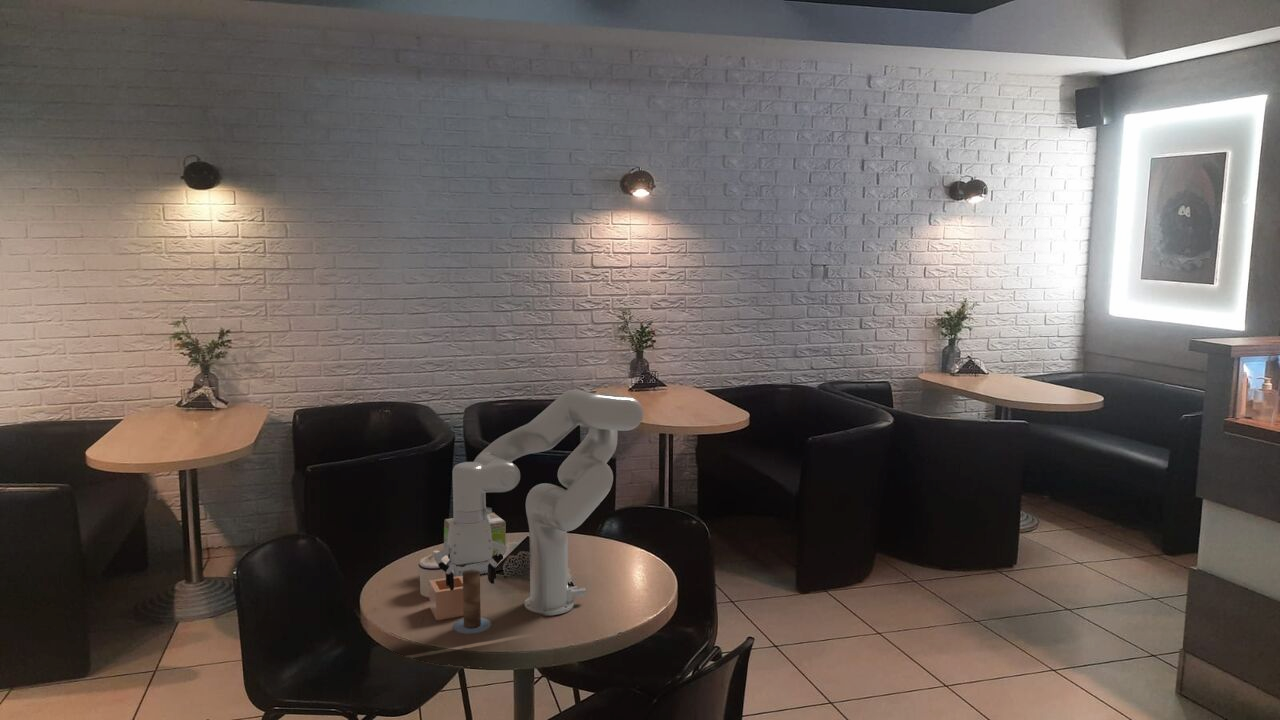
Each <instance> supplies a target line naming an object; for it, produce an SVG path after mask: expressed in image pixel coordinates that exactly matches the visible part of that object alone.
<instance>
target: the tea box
mask: <svg viewBox="0 0 1280 720" xmlns="http://www.w3.org/2000/svg"><path fill="white" fill-rule="evenodd" d="M487 518H488V519H489V523H490V528H491V535H492V541H494V542H497V543H500V544H503V545H505V546H506V535H507V534H506V533H507V532H506V530H507V529H506V526H507V525H506V521H505V520H504V519H502V518H501V517H500V516H499V515H497V514H496V513H495V512H492V513H490V514H487ZM451 520H454V517H453V518H452V517H451V518H445V519H444V520H443V521H444V522H443V525H444V526H443V549H444V548H446V547H447V546H448V532H449V525H450V521H451ZM498 551H499V549H496V548H493V557H492V558H494V557H495V556H496V554H497V553H498ZM505 553H506V552H505ZM447 556H448V555H447ZM488 564H489V562H488V561H484V562H477V563H470V564H463V565H456V567H455V568H454V569H453V574H454V577H456V576H463V572H464V571H467V570H478V571H479V572H480V575H484V573H485V574H488Z"/></svg>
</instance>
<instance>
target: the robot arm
mask: <svg viewBox="0 0 1280 720" xmlns="http://www.w3.org/2000/svg"><path fill="white" fill-rule="evenodd" d="M643 417H644V409H643V406H642V404H641V403H640V402H639V401H638V400H637V399H636V398H633V397H630V396H626V395H625V396H624V395H621V394H617V393H613V392H612V393H611V392H601V393H598V394H596V393H593V392H588V391H584V390H579V389H569V390H567V391H565V392H563V393H562V394H560V396H558V397H557V398H556V399H555V400H554V401H553V402H552V403H550V404H549V405H548V406H547V407H546V408H545V409H544V410H542V412H540V413H539V414H538V415H537V416H536V417H534V418H533V419H532V420H531V421H529V422H528V423H526V424H524V425H522V426H519V427H517V428H515V429H513V430H511V431H509V432H507V433H505V434H503V435H501V436H499V437H498V438H497V439H494V441H492V442H491V443H490V444H488V446H486V447H485V448H484V449H483V450H482V451H481V452H480V453H478V454H477V456H476V457H475V459H474V460H473V461H464V462H460V463H458V464H457V463H456V464H455V465H454V467H453V468H452V474H451V475H452V502H453V503H452V507H453V508H452V510H453V516H452V517H453V518H454V520H451V521H450V525H449V532H448V546H447V547H446V548H444V547H443V548H442V549H441V550H439V551H440V552H438V553H436V554H435V555H434V556H433V558H434V559H435V561H436V563H437V564H438V566H439V567H440V568H441V569H442V570H443V571H445V572H446V585H447V586H449V588H450V590H453V589H454V574H453V573H452V571H453V569H454V568H455V567H456V565H463V564H470V563H477V562H484V561H488V562H489V564H488V573H487V580H488V582H489V583H490V584H491V585H494V584H495V579H497V572H496V567H497V566H498V563H499V562H500V561H501V560H502V559H503V555H504V554H505V552H506V551H507V550H508V547H507V546H506V544H505V545H503V544H500V543H497V542H494V541H492V535H491V528H490V523H489V519H488V518H487V514H490V513H493V508H492V507H487V505H486V504H487V502H486V501H487V500H486V498H487V496H486V493H506V492H509V491H512V490H513V489H515V488H516V487H517V486H518V484H519V483H520V480H521V471H520V469H519V468H518V466H517V465H516V464H514V463H513V461H516V460H517V459H518V458H521V457H523V456H527V455H530V454H536V453H542V452H546V451H549V450H553V448H554V447H556V446H557V445H558V444H559V443H560V442H561V441H562V440H563V439H565V437H566V436H568V434H570V433H571V432H572V431H574V429H576V428H577V427H578V426H580V427H585V428H589V429H588V432H587V434H586V436H585V437H584V439H583V440H581V442H580V443H579V444H578V446H577V447H575V449H573V451H572V452H570V454H569V455H568V456H567V458H565V459H564V461H562V463H561V464H560V465H559V468H558V470H557V479H558V482H559V484H561V485H562V486H563V487H565V488H566V489H565V488H563V487H561V486H558V485H556V484H552V483H547V482H545V483H539V484H536V485H535V486H533V487H532V488H531V489H529V492H528V493H527V496H526V499H525V512H526V513H525V514H526V519H527V524H528V531H529V587H530V588H529V589H530V590H529V593H530V596H529V597H527V598H526V599H525V600H524V603H523V606H524V608H525V609H526V610H528V611H530V612H532V613H536V614H540V615H541V616H544V617H545V616H546V617H547V616H548V617H549V616H557V615H562V614H565V613H567V612H569V611H571V610H572V609H573V608H574V606H575V600H574V599H575V598H576V597H582V596H586V595H587V589H586V587H581V588H579V587H578V586H577V585H574V586H571V587H570V586H569V585H568V584H569V583H568V582H569V581H568V580H569V576H568V573H569V572H568V571H569V569H568V566H569V565H568V562H569V561H568V559H569V558H568V546H569V545H568V540H569V539H568V532H570V531H573V530H576V529H577V528H579V527H580V526H581V525H582V524H583V523H584V522H585V521H586V519H588V518H589V516H590V515H591V514H592V513H593V512H594V511H595V509H596V508H597V507H599V505H600V504H601V503H602V502H603V500H604V499H605V498H606V497H607V495H608V494H609V492H610V491H611V489H612V486H613V482H614V474H613V470H612V469H611V466H610V465H608V462H610V459H611V458H612V457H613V456H614V454H615V452H616V450H617V446H618V437H619V436H618V435H619V434H618V431H619V432H621V431H623V432H625V431H626V432H627V431H633V430H634V429H636V428H637V427H639V425H641V422H642V421H643ZM493 548H496V549H499V551H498V553H497V554H496V556H495V557H494V558H492V557H493ZM446 555H448V559H450V560H449V561H448V562H447V564H444V563H443V562H442V560H441V559H442V558H443V557H444V556H446Z"/></svg>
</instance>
